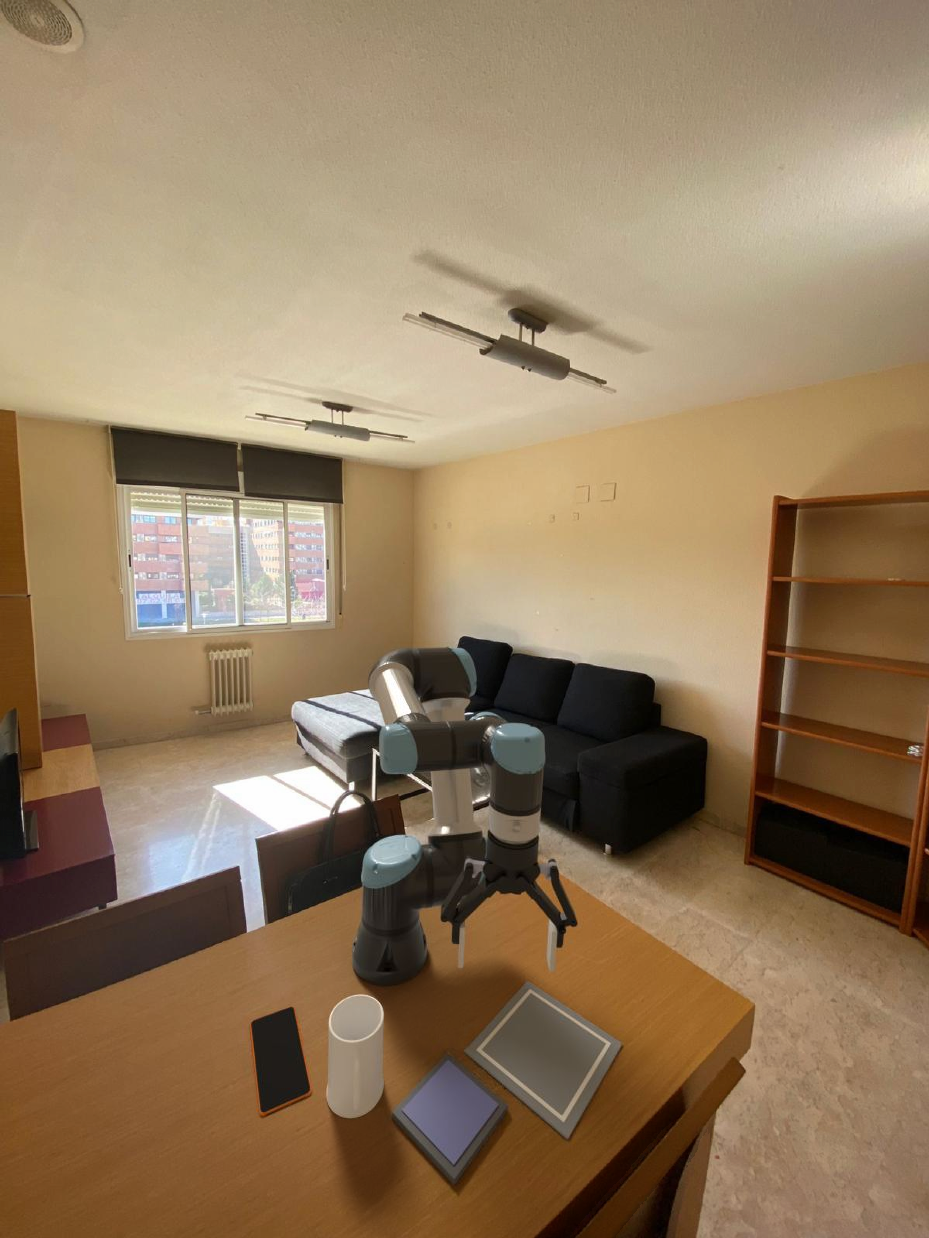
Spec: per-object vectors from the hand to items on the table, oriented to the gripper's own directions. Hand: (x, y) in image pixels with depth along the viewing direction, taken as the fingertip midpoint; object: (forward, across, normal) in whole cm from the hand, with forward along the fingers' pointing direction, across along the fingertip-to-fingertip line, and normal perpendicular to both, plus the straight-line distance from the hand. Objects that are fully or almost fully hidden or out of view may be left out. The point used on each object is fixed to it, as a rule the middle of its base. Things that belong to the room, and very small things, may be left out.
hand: (505, 962), depth 76 cm
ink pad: (+20, -7, -5) cm, 22 cm away
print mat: (+20, +8, +5) cm, 22 cm away
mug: (+20, -22, -4) cm, 30 cm away
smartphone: (+21, -35, +2) cm, 41 cm away
